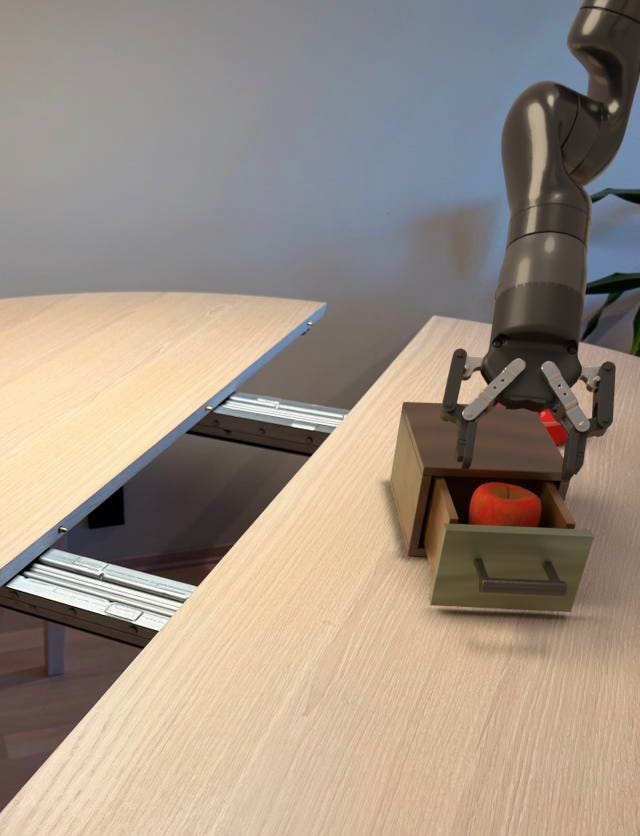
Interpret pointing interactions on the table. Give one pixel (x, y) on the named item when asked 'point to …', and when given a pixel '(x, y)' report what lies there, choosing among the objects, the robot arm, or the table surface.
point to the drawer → (502, 551)
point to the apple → (504, 506)
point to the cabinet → (435, 456)
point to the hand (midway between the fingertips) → (516, 471)
